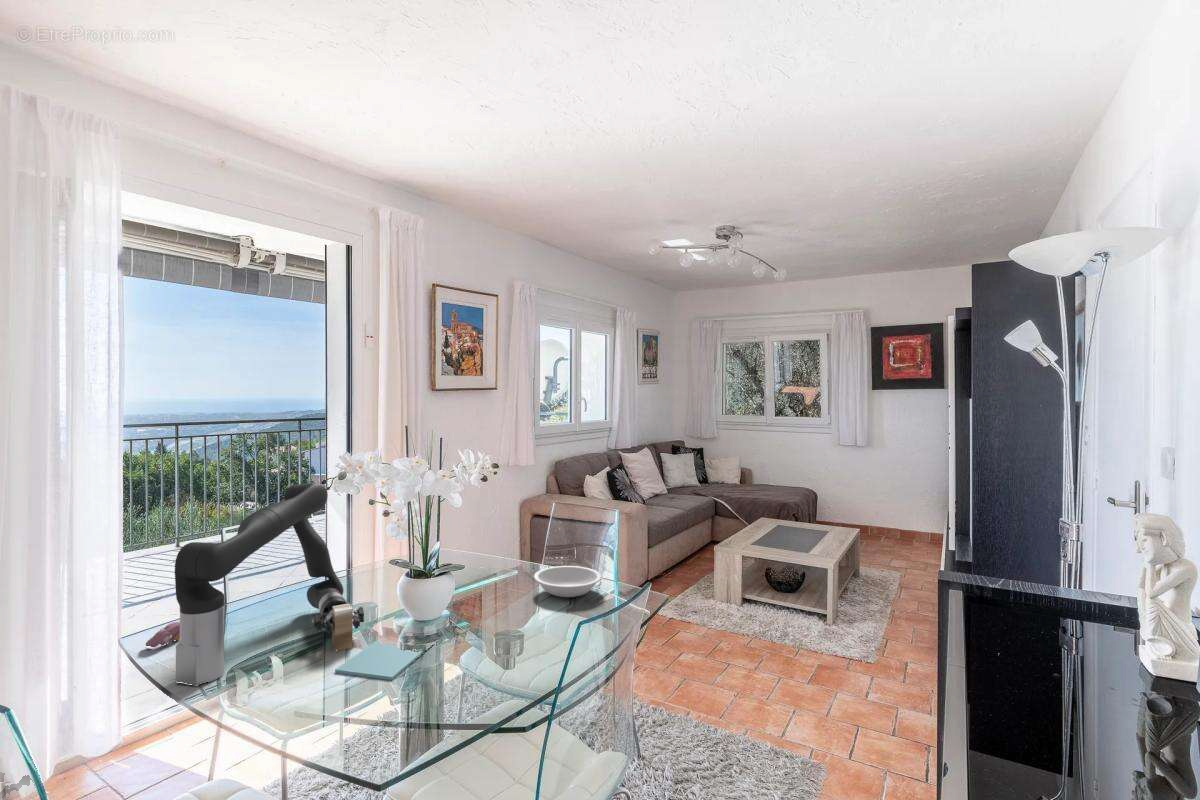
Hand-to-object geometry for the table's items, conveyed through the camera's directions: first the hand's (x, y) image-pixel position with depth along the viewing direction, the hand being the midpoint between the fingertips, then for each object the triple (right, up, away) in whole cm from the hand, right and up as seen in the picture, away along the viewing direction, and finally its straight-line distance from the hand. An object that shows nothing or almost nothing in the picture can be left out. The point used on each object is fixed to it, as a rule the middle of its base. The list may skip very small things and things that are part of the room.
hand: (343, 627), depth 166 cm
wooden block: (-1, -6, +2) cm, 7 cm away
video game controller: (-50, -6, +2) cm, 50 cm away
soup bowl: (+59, -7, +48) cm, 76 cm away
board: (+14, -7, -4) cm, 16 cm away
